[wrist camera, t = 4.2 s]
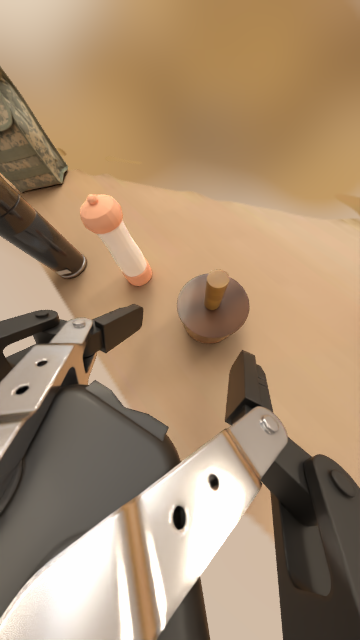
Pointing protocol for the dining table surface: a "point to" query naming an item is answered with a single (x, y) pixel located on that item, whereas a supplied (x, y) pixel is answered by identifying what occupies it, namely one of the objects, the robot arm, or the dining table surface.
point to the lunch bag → (25, 143)
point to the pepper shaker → (115, 236)
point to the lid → (213, 305)
